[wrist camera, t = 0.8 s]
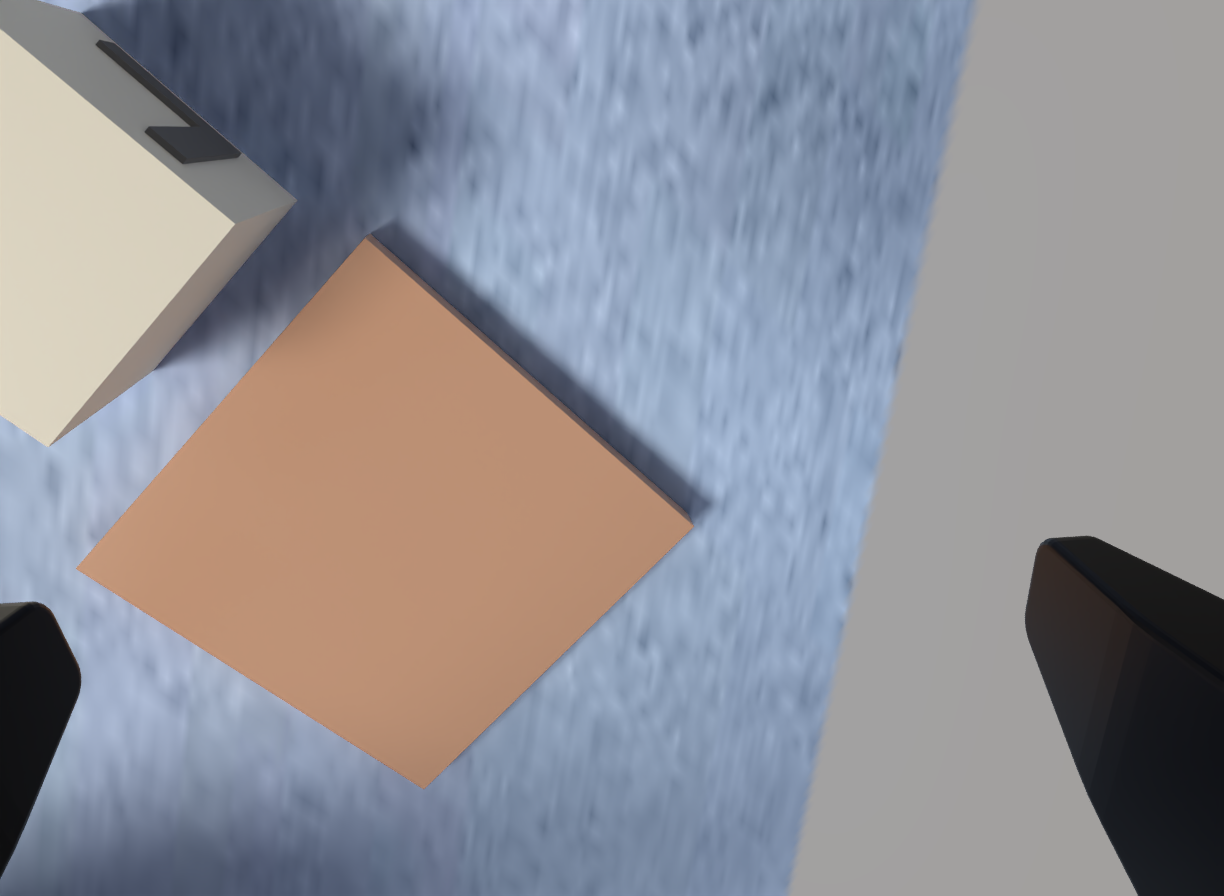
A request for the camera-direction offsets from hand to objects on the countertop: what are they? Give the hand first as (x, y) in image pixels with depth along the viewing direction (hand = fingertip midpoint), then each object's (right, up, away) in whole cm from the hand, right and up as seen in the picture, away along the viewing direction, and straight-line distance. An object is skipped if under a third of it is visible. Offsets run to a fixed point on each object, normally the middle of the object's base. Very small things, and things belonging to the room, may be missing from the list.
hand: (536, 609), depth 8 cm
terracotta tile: (-4, -1, +13) cm, 14 cm away
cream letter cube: (-9, +7, +10) cm, 15 cm away
